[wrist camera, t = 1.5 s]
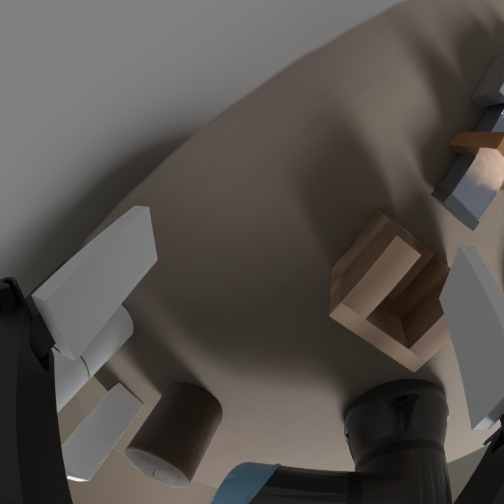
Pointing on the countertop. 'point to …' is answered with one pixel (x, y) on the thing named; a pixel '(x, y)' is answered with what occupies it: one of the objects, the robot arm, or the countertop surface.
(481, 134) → the brown and grey block
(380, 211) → the socket
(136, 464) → the pillar candle
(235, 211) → the countertop surface
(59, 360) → the cylindrical container
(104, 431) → the milk
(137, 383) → the countertop surface
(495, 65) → the sleeve
